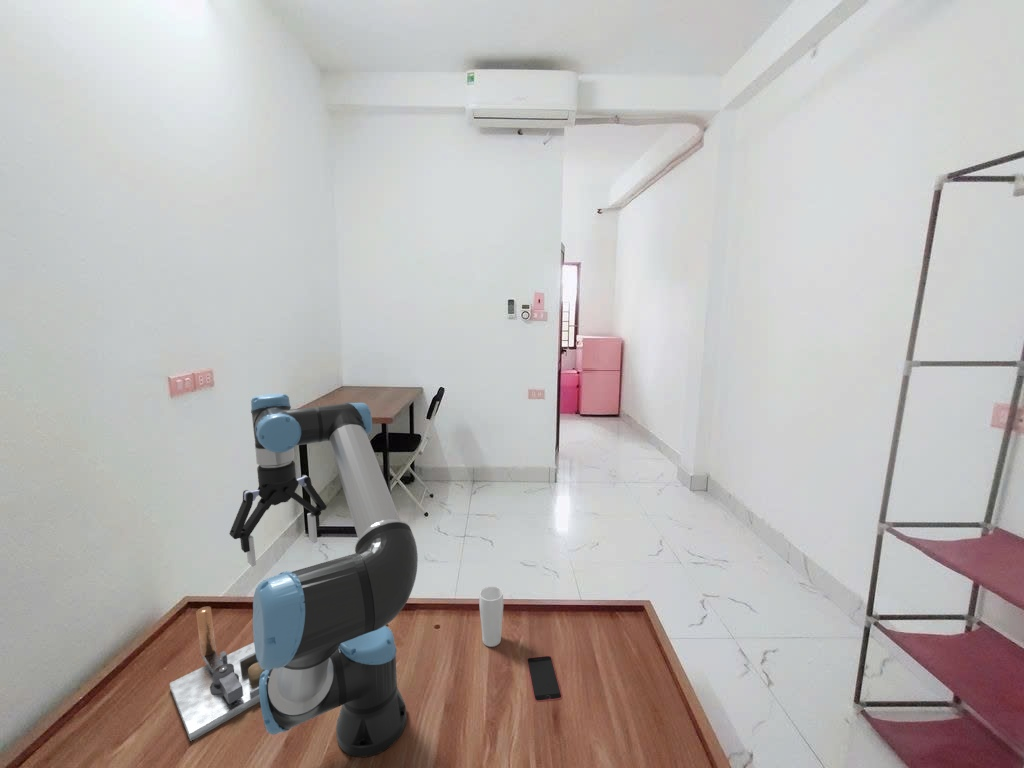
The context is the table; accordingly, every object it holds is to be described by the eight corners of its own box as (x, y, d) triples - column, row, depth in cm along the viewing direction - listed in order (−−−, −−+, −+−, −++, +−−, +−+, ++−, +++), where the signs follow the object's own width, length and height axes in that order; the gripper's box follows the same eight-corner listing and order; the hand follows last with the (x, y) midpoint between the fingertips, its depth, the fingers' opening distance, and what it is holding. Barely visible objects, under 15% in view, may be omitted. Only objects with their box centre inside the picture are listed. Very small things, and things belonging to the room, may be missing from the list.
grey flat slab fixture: (281, 689, 112) (279, 667, 111) (190, 741, 98) (187, 717, 97) (254, 648, 125) (252, 629, 124) (170, 690, 112) (167, 668, 111)
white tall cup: (508, 638, 129) (507, 590, 127) (494, 653, 123) (494, 603, 121) (488, 629, 133) (488, 583, 130) (475, 643, 127) (474, 595, 125)
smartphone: (534, 701, 108) (526, 657, 122) (534, 703, 108) (526, 659, 122) (563, 698, 109) (551, 655, 122) (563, 700, 109) (551, 657, 122)
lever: (246, 694, 107) (240, 643, 105) (225, 706, 104) (219, 653, 101) (216, 649, 121) (211, 603, 119) (197, 658, 118) (191, 611, 116)
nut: (268, 677, 113) (267, 666, 112) (253, 687, 110) (251, 675, 109) (261, 670, 115) (260, 659, 114) (246, 679, 112) (245, 668, 112)
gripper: (322, 447, 112) (328, 527, 115) (206, 473, 94) (216, 568, 97) (337, 453, 107) (343, 536, 110) (217, 482, 89) (228, 581, 92)
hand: (284, 551), depth 104 cm, fingers open, 13 cm apart
